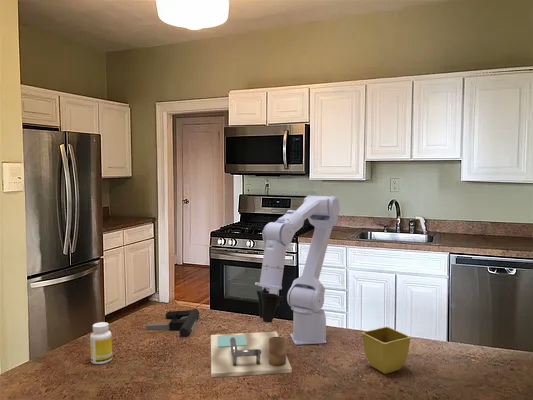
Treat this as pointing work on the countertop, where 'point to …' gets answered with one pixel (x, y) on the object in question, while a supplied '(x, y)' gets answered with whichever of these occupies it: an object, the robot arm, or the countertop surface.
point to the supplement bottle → (101, 343)
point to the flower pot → (386, 348)
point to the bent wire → (243, 352)
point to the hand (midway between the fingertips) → (265, 320)
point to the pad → (225, 340)
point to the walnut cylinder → (277, 351)
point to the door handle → (177, 322)
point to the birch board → (245, 357)
